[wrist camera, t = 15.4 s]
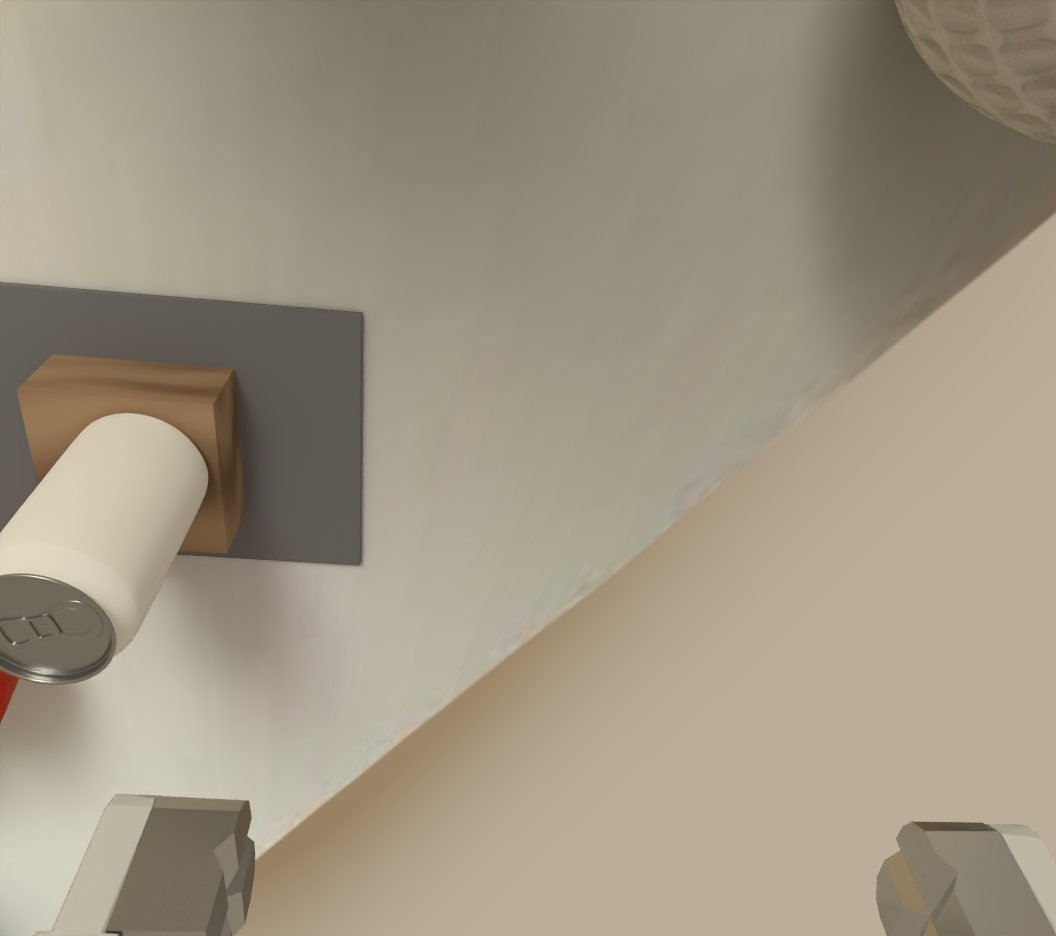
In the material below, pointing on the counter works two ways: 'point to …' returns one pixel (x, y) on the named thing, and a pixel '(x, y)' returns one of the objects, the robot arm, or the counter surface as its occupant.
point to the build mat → (261, 395)
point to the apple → (6, 690)
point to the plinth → (153, 390)
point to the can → (95, 547)
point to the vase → (992, 56)
